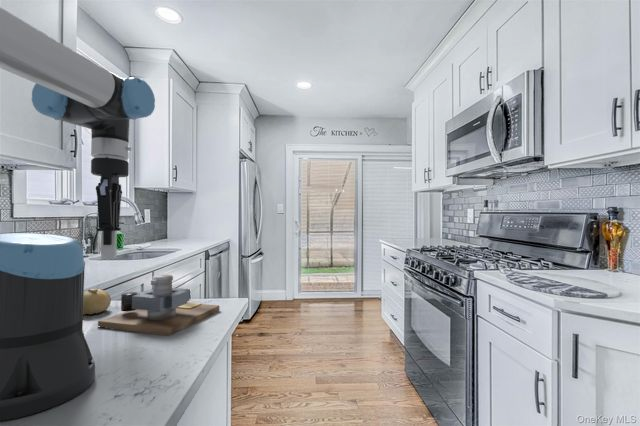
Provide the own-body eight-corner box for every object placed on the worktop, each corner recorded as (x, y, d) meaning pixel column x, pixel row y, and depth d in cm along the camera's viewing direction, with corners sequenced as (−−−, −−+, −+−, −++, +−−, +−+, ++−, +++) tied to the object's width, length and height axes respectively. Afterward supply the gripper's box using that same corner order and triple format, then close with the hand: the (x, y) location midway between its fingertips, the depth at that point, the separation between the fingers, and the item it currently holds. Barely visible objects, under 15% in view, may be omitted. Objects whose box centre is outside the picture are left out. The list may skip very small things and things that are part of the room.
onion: (67, 316, 86) (68, 289, 86) (95, 308, 94) (95, 283, 94) (92, 318, 84) (92, 291, 84) (117, 310, 92) (118, 285, 92)
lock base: (168, 335, 72) (169, 283, 72) (97, 327, 77) (98, 278, 77) (219, 310, 91) (219, 269, 91) (159, 305, 96) (160, 266, 97)
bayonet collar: (193, 308, 84) (193, 289, 84) (164, 320, 74) (164, 298, 74) (139, 303, 89) (139, 285, 89) (105, 314, 79) (105, 293, 79)
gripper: (122, 155, 72) (120, 261, 72) (133, 164, 85) (132, 254, 84) (81, 152, 70) (79, 262, 69) (100, 162, 82) (98, 255, 82)
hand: (108, 258), depth 77 cm, fingers closed
